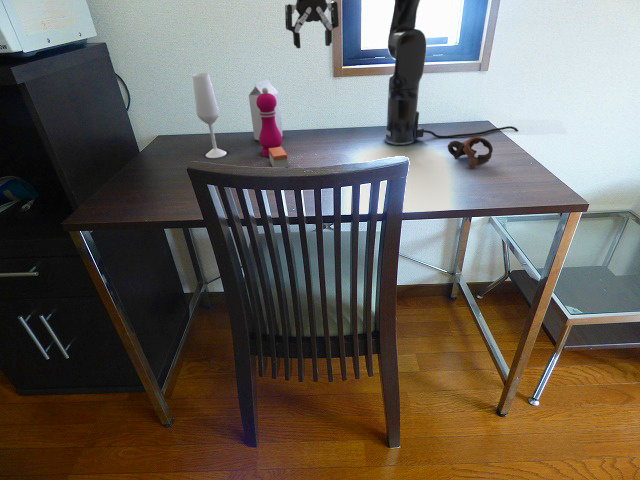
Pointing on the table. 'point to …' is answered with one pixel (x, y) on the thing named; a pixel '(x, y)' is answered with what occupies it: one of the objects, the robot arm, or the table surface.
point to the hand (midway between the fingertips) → (313, 46)
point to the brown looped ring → (470, 150)
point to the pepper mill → (268, 122)
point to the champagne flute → (207, 108)
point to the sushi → (278, 157)
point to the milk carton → (255, 110)
